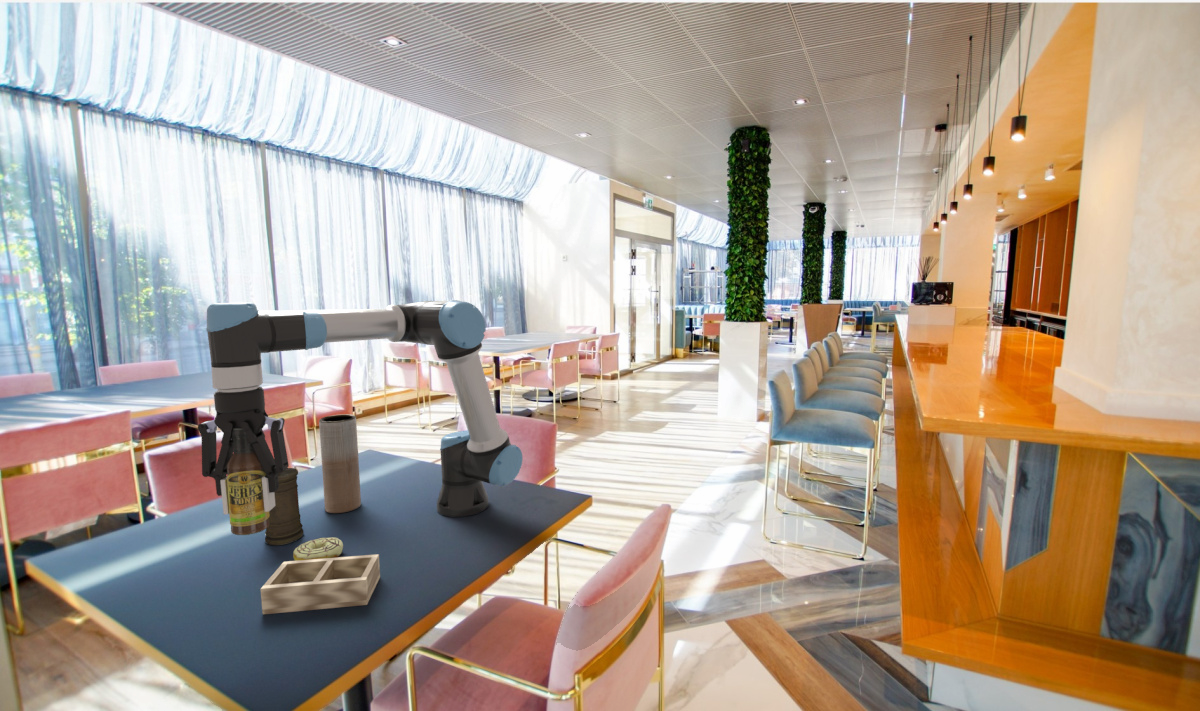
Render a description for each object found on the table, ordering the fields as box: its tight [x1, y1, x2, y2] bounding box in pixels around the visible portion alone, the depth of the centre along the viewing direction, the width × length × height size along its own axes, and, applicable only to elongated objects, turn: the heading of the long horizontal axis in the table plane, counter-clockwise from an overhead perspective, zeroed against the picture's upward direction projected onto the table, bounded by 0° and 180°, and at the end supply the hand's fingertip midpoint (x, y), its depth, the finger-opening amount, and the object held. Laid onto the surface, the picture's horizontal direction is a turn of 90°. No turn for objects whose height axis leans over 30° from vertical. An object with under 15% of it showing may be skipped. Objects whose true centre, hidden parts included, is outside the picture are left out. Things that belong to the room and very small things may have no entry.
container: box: [264, 467, 305, 546], centre depth 140 cm, size 9×9×18 cm
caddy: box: [260, 553, 381, 615], centre depth 114 cm, size 20×11×6 cm, turn 99°
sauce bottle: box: [226, 428, 270, 536], centre depth 98 cm, size 6×6×20 cm
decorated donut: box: [292, 536, 344, 561], centre depth 130 cm, size 10×11×4 cm
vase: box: [318, 413, 362, 514], centre depth 159 cm, size 10×10×28 cm
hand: (250, 509), depth 99 cm, fingers closed on sauce bottle, 6 cm apart
